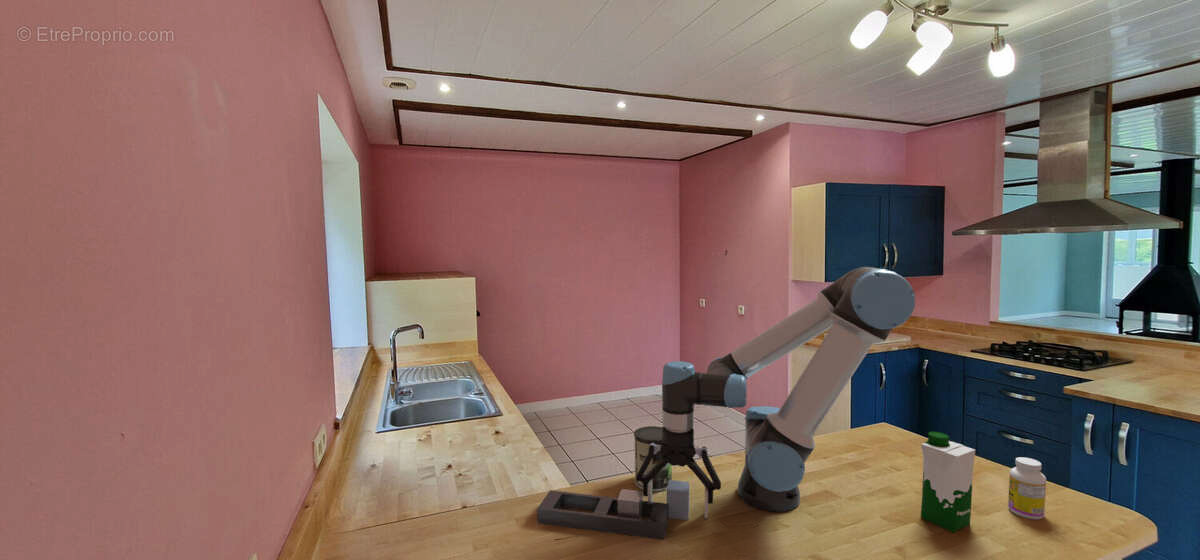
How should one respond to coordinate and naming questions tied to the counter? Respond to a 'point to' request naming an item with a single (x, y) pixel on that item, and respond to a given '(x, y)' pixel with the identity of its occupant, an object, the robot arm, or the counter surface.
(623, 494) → the pale wooden cube
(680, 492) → the blue-grey rectangular block
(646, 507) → the dark grey compartment tray
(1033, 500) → the supplement bottle
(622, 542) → the counter surface
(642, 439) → the coffee can
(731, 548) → the counter surface
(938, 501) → the milk carton
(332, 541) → the counter surface
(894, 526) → the counter surface
